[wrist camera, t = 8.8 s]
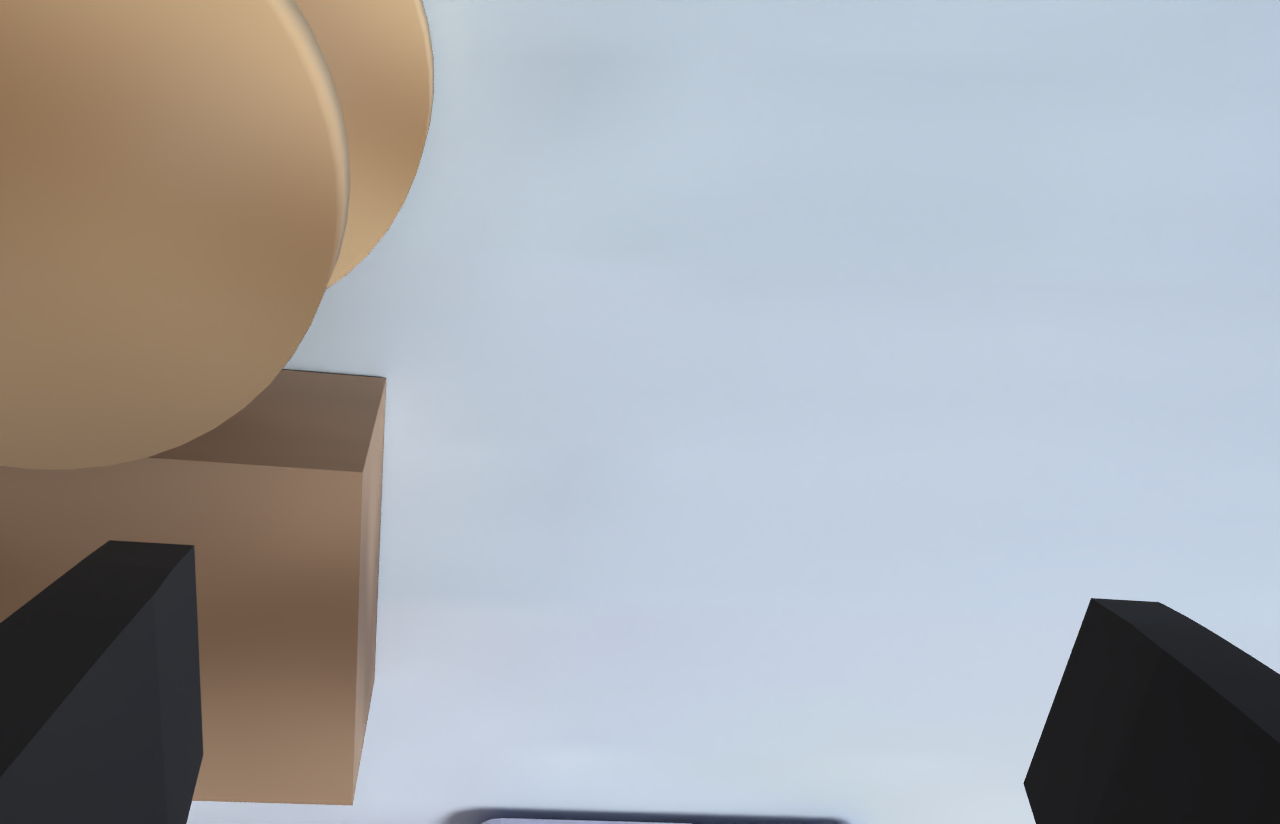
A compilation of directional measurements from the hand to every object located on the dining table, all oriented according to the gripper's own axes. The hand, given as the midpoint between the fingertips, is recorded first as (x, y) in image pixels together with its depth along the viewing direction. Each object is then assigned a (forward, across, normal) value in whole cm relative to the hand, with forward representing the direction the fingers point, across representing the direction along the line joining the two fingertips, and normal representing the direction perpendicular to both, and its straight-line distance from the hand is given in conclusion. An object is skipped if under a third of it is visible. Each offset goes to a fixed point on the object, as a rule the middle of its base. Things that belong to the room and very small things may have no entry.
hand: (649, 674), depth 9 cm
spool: (+9, +6, -2) cm, 11 cm away
